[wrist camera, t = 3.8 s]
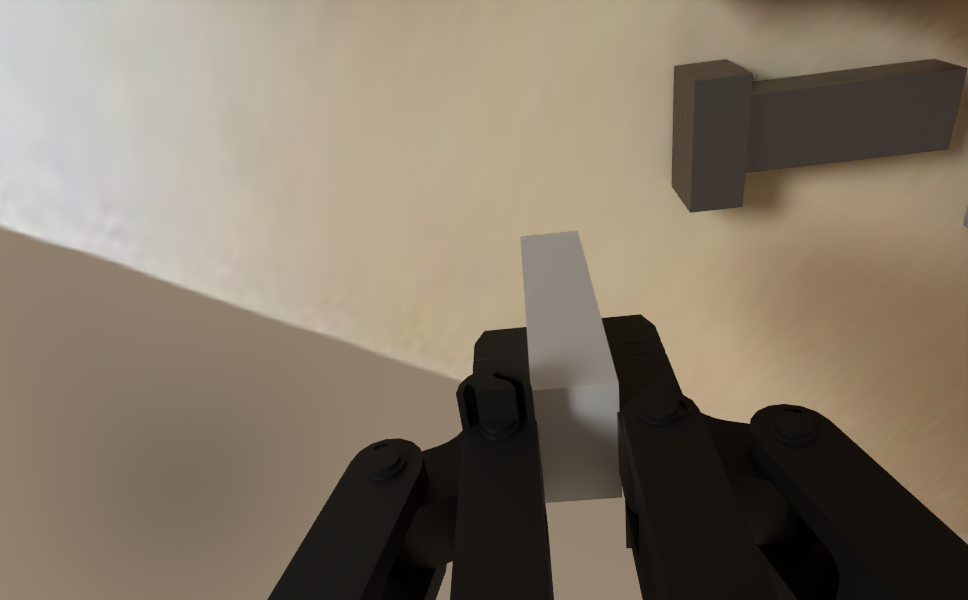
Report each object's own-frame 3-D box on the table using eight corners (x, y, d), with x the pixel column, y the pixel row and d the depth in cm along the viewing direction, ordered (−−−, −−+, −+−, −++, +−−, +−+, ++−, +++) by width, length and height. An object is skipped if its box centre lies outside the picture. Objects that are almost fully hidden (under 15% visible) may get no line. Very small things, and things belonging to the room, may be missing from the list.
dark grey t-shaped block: (671, 186, 27) (690, 212, 25) (674, 66, 25) (694, 81, 22) (912, 158, 26) (957, 182, 24) (940, 31, 24) (993, 42, 21)
